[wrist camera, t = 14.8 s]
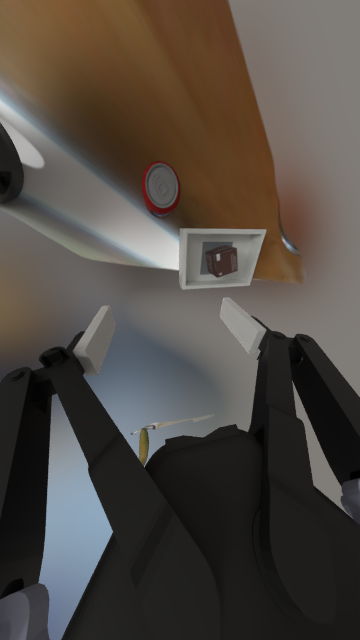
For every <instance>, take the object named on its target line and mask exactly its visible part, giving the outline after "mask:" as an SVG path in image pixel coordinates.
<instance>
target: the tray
mask: <svg viewBox="0 0 360 640" xmlns="http://www.w3.org/2000/svg"><path fill="white" fill-rule="evenodd" d="M266 230H267V229H196V228H180V245H179V285H180V286H181V288H182V289H201V288H219V287H235V286H236V287H237V286H249V285H250V283H251V280H252V276H253V273H254V270H255V266H256V263H257V260H258V256H259V253H260V250H261V246H262V243H263V240H264V236H265V233H266ZM223 245H226V246H230V247H235V248H237V263H238V271H236V272H233V273H230V274H227V275H224V276H221V277H218V278H217V277H215V276H214V275H213V274H211V273H210V272H208V267H207V261H206V254H205V252H206V251H209V250H212V249H215V248H218V247H220V246H223Z"/></svg>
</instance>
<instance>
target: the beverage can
mask: <svg viewBox="0 0 360 640" xmlns="http://www.w3.org/2000/svg"><path fill="white" fill-rule="evenodd" d="M142 192H143V197H144V201H145V204H146V207H147V209H148V210H149V212H150V213H151V214H152V215H154V216H155V217H159V218H162V217H165V216H167V215H168V214H169V213H171V212H172V211H173V209H174V208H175V207H176V206H177V204H178V202H179V198H180V182H179V179H178V176H177V174H176V172H175V171H174V169H173V168H172V167H171V166H170V165H169V164H167V163H165V162H162V161H156V162H153V163H151V164H150V165H149V166H148V167H147V168H146V170H145V172H144V174H143V178H142Z"/></svg>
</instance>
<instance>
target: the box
mask: <svg viewBox="0 0 360 640" xmlns="http://www.w3.org/2000/svg"><path fill="white" fill-rule="evenodd" d="M205 254H206V261H207V267H208V272H210V273H211V274H213V275H214V276H215V277H217V278H218V277H221V276H224V275H227V274H230V273H233V272H236V271H238V263H237V248H235V247H230V246H226V245H223V246H220V247H218V248H215V249H212V250H209V251H206V252H205Z"/></svg>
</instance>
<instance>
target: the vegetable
mask: <svg viewBox="0 0 360 640" xmlns="http://www.w3.org/2000/svg"><path fill="white" fill-rule="evenodd" d="M148 449H149V438H148V432H147V430H146V429H145V428H143V429H142V430H141V433H140V447H139V460H140V462H141V463H142V465H143V466H144V465H145V463H146V460H147V456H148Z"/></svg>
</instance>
